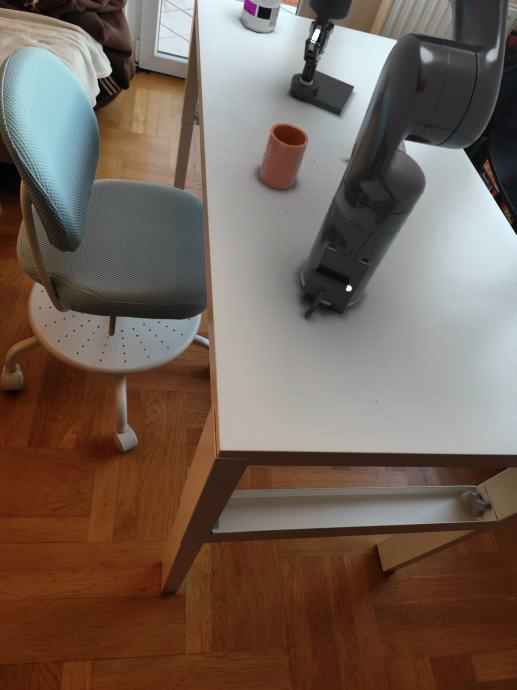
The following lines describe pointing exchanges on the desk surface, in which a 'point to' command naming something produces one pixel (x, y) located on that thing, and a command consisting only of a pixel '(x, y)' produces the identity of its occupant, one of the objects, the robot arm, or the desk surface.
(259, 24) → the supplement can
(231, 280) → the desk surface
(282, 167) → the terracotta flower pot
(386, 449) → the desk surface
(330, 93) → the scale
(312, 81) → the button
